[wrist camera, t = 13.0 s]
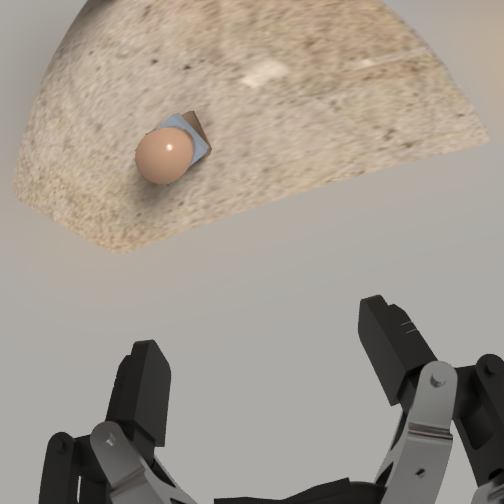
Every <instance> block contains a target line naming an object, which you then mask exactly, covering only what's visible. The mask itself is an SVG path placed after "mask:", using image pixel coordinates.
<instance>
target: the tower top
mask: <svg viewBox="0 0 504 504" xmlns="http://www.w3.org/2000/svg"><path fill="white" fill-rule="evenodd" d="M167 126H179V127H182V128H184V129H186V130H187V131H188V132H189V133H190V134H191V135H192V137H193V138H194V141H195V145H196V151H195V156H194V158H193V160H192V162H191V163H190V165H189V167H190V166H191V165H192V164H193V163H195V162H196V161H197V160H198V159H199V158H200V157H202V156H203V155H204V154H205V153H206V152H207V150H208V147H209V146H208V145H207V143H206V142H205V141H204V140H203V139H202V138H201V137H200V136H199V134H198V133H197V132H196V131H195V130H194V129H193V128H192V127H191V126H190V124H189V123H188V122H187V121H186V120H185V119H184V118H183V117H182V116H181V115H180V114H173V115H171V116H170V117H169V118H168V119H167V120H166V121H165V122H163V123H162V124H161V125H160V126H159V127H158V128H157V129H156V130H158V129H161V128H164V127H167ZM136 149H137V148H136ZM135 151H136V150H135ZM189 167H188V168H189ZM188 168H187V169H188ZM170 184H171V183H169V184H167V185H168V186H169V185H170Z"/></svg>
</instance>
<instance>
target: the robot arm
mask: <svg viewBox="0 0 504 504" xmlns="http://www.w3.org/2000/svg"><path fill="white" fill-rule="evenodd" d="M358 333H359V337H360V341H361V343H362V345H363V347H364V349H365V351H366V353H367V355H368V357H369V359H370V361H371V363H372V366H373V368H374V370H375V372H376V374H377V376H378V378H379V381H380V383H381V385H382V387H383V389H384V391H385V393H386V396H387V398H388V400H389V403H390V405H391V406H393V405H396V404H399V403H400V404H401V406H402V409H403V410H402V412H401V416H400V419H399V422H398V425H397V428H396V431H395V434H394V437H393V440H392V442H391V445H390V448H389V450H388V453H387V455H386V457H385V459H384V461H383V463H382V465H381V467H380V469H379V471H378V473H377V476H376V478H375V480H374V482H373V483H369V482H358V481H356V482H355V481H354V482H350V481H349V478H348V477H347V478H344V479H340V480H337V481H334V482H329V483H325V484H321V485H317V486H314V487H312V488H310V489H308V490H305V491H303V492H301V493H298V494H296V495H294V496H291V497H289V498H286V499H283V500H272V499H260V498H252V497H238V498H220V499H214V504H434V503H435V500H436V498H437V495H438V492H439V489H440V486H441V483H442V480H443V477H444V474H445V471H446V467H447V464H448V460H449V456H450V452H451V448H452V443H453V436H452V434H450V425H451V420H453V421H454V423H455V426H456V428H457V430H458V433H459V435H460V438H461V440H462V443H463V445H464V448H465V451H466V453H467V456H468V459H469V462H470V464H471V467H472V470H473V473H474V476H475V479H476V483H477V485H478V489H477V490H476V492H475V494H474V496H473V499H472V502H471V504H504V361H503V360H502V359H501V358H500V357H498V356H497V355H494V354H486V355H483V356H482V357H480V358H479V360H478V361H477V363H476V365H472V366H466V367H459V368H453V367H452V366H451V365H450V364H448V363H446V362H443V361H438V360H437V358H436V357H435V355H434V354H433V352H432V351H431V349H430V348H429V346H428V344H427V343H426V342H425V340H424V338H423V337H422V336H421V334H420V332H419V331H418V330H417V328H416V327H415V325H414V324H413V323H412V322H411V320H410V318H409V317H408V315H407V314H406V312H405V311H404V310H402V309H401V308H399V307H398V306H397V305H395V304H392V305H389V306H388V305H387V303H386V302H385V300H384V299H383V297H382V296H381V295H375V296H372V297H368V298H365V299H362V300H361V301H360V310H359V322H358ZM116 377H117V378H116V379H115V382H114V387H113V390H112V394H111V398H110V402H109V407H108V411H107V415H106V419H105V421H104V422H102V423H100V424H98V425H97V426H96V427H95V428H94V429H93V431H92V433H91V434H90V435H86V436H81V437H77V438H72V437H71V436H70V435H68V434H67V433H65V432H58V433H56V434H55V435H53V436H52V437H51V439H50V440H49V442H48V446H47V451H46V456H45V461H44V467H43V473H42V480H41V486H40V494H39V504H197V503H196V502H195V501H194V500H193V499H192V498H191V497H190V496H189V495H188V494H186V493H185V492H184V491H183V490H182V489H181V488H180V487H179V486H178V484H177V483H176V482H175V481H174V479H173V478H172V477H171V476H170V474H169V473H168V472H167V470H166V469H165V468H164V466H163V465H162V464H161V462H160V461H159V460H158V459H157V457H156V456H155V454H154V448H155V447H164V446H165V434H166V421H167V411H168V400H169V392H170V383H171V370H170V366H169V363H168V362H167V360H166V358H165V357H164V355H163V353H162V352H161V351H160V348H159V347H158V345H157V343H156V342H155V341H154V340H145V341H137V342H135V343H134V344H133V348H132V352H131V355H126V356H125V358H124V359H123V361H122V362H121V364H120V365H119V368H118V371H117V375H116ZM79 476H81V484H80V495H79V503H78V501H77V490H78V480H79Z"/></svg>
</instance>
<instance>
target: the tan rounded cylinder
mask: <svg viewBox="0 0 504 504" xmlns="http://www.w3.org/2000/svg"><path fill="white" fill-rule="evenodd" d="M195 151H196V145H195V141H194V138H193V137H192V135H191V134H190V133H189V132H188V131H187V130H186V129H184V128H182V127H179V126H167V127H164V128H161V129H158V130H155V131H153V132H150V133H149V134H147V135H146V136H145V137H144V138H143V139H142V140H141V141H140V143H139V144H138V146H137V149H136V154H135V161H136V165H137V168H138V170H139V172H140V173H141V175H142V176H143V177H144V178H145V179H147V180H148V181H150V182H153V183H156V184H169V183H172V182H174V181H176V180H178V179H179V178H180V177H181V176H182V175H183V174H184V173H185V171H186V170H187V168H188V167H189V165H190V163H191V162H192V160H193V158H194V156H195Z"/></svg>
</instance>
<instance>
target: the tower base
mask: <svg viewBox="0 0 504 504" xmlns="http://www.w3.org/2000/svg"><path fill="white" fill-rule="evenodd" d="M181 116H182V117H183V118H184V119H185V120H186V121H187V122H188V123H189V124H190V126H191V127H192V128H193V129H194V130H195V131H196V132H197V133H198V134H199V136H200V137H201V138H202V139H203V140H204V141H205V142H206V143H207V145H208V146H209V147H208V150H207V152H206V153H205V154H204V155H203V156H202V157H200V158H199V159H201V158H204V157H206V156H208V155H210V153H211V150H212V148H211V146H210V144H209V142H208V140H207V137H206V135H205V133H204V131H203V129H202V127H201V125H200V123H199V121H198V119H197V117H196V115H195V113H194V111H189V112H187V113H185V114H183V115H181ZM156 129H157V128H156ZM156 129H155V130H156ZM155 130H153V131H155ZM153 131H151V132H153ZM149 133H150V132H149ZM149 133H147V134H149ZM147 134H146V135H147ZM199 159H198V160H199Z"/></svg>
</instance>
